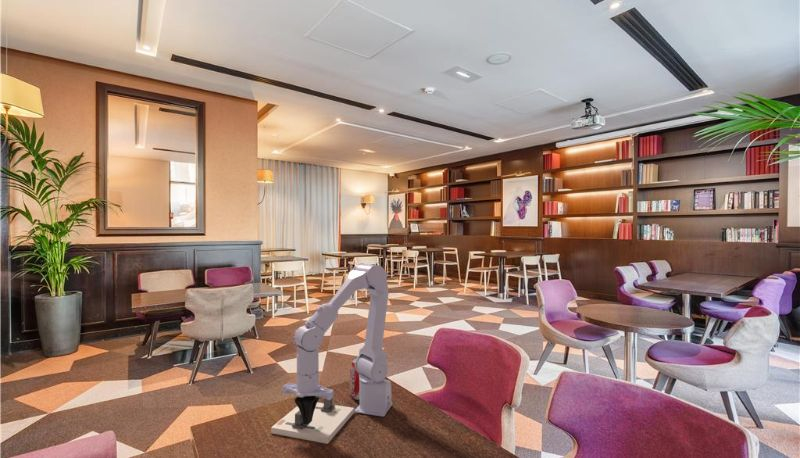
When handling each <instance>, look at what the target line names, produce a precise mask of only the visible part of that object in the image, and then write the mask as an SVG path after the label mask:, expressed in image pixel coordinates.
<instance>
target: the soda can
mask: <svg viewBox="0 0 800 458" xmlns="http://www.w3.org/2000/svg"><path fill="white" fill-rule="evenodd" d="M357 358H358V356H357V357H354V358H352V359H351V363H350V365H349V393H350V394H349V396H350V397H351V398H352V399H354V400H356V401H360V383H359V380H360V379H359V373H358V372H357V371H356V369H355V362H356V359H357Z"/></svg>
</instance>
